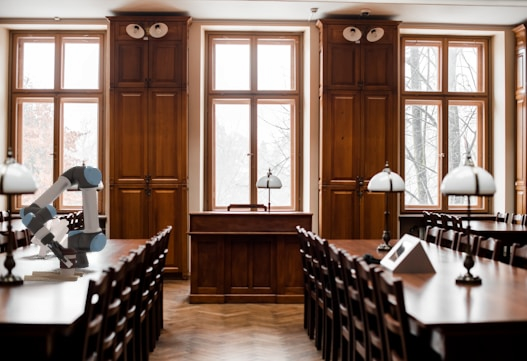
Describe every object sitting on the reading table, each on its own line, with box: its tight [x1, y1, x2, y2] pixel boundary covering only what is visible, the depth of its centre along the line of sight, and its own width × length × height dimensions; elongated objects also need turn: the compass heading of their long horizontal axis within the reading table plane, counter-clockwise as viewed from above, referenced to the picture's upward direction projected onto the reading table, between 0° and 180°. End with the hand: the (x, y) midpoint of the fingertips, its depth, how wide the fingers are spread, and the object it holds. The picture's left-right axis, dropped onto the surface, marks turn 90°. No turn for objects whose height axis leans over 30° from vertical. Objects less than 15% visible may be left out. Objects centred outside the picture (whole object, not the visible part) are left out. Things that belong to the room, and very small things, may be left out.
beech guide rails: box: [23, 270, 84, 282], centre depth 319 cm, size 16×28×2 cm, turn 96°
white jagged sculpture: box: [30, 218, 70, 259], centre depth 417 cm, size 35×30×35 cm
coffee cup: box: [58, 248, 77, 276], centre depth 320 cm, size 10×10×15 cm
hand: (73, 264), depth 320 cm, fingers closed on coffee cup, 10 cm apart
